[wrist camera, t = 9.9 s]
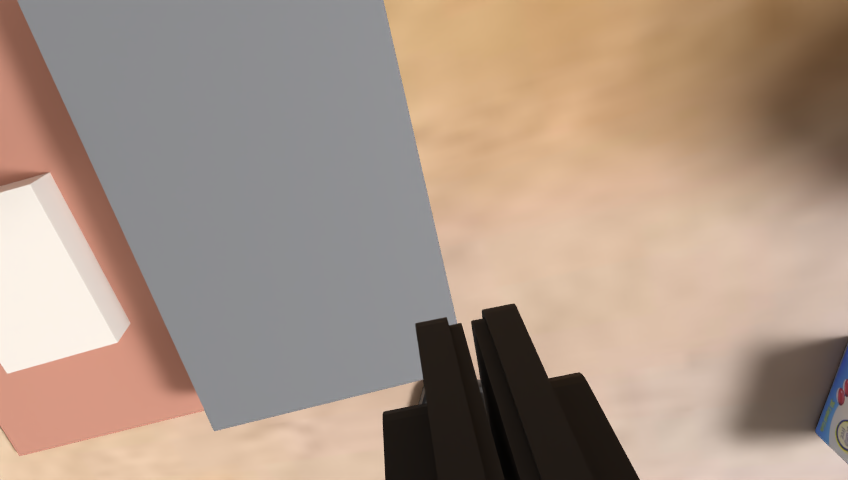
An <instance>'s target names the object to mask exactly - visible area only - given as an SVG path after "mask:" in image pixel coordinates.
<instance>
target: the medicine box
mask: <svg viewBox="0 0 848 480" xmlns="http://www.w3.org/2000/svg"><path fill="white" fill-rule="evenodd" d="M815 432H816V434H817V435H818V436H819V437H820V438H821V439H822V440H823V441H824V442H825V443H826V444H827V445H828V446H829V447H830V448H832V449H833V450H834V451H835V452H836V453H837V454H838V455H839V456H840V457H841V458H842V459H843V460H844V461H845V462H846V463H847V464H848V343H847V346H846V348H845V351H844V354H843V357H842V359H841V362H840V365H839V368H838V370H837V373H836V376H835V379H834V381H833V384H832V387H831V390H830V392H829V395H828V398H827V401H826V403H825V406H824V409H823V411H822V414H821V416H820V419H819V422H818V425H817V427H816V430H815Z"/></svg>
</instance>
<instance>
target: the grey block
mask: <svg viewBox="0 0 848 480" xmlns="http://www.w3.org/2000/svg"><path fill="white" fill-rule="evenodd" d="M17 1H18V4H19V6H20V8H21V10H22V12H23V14H24V17H25V19H26V21H27V23H28V25H29V28H30V30H31V32H32V34H33V36H34V39H35V41H36V43H37V45H38V47H39V49H40V52H41V54H42V56H43V58H44V60H45V63H46V65H47V67H48V69H49V71H50V74H51V76H52V78H53V80H54V82H55V84H56V87H57V89H58V91H59V93H60V95H61V98H62V100H63V102H64V104H65V106H66V109H67V111H68V113H69V115H70V117H71V119H72V122H73V124H74V126H75V128H76V130H77V133H78V135H79V137H80V139H81V141H82V143H83V146H84V148H85V150H86V152H87V154H88V157H89V159H90V161H91V163H92V165H93V168H94V170H95V172H96V174H97V176H98V178H99V181H100V183H101V185H102V187H103V189H104V192H105V194H106V196H107V198H108V200H109V203H110V205H111V207H112V209H113V211H114V213H115V216H116V218H117V220H118V222H119V224H120V227H121V229H122V231H123V233H124V235H125V238H126V240H127V242H128V244H129V246H130V248H131V251H132V253H133V255H134V257H135V259H136V262H137V264H138V266H139V268H140V270H141V273H142V275H143V277H144V279H145V281H146V283H147V286H148V288H149V290H150V292H151V294H152V297H153V299H154V301H155V303H156V305H157V307H158V310H159V312H160V314H161V316H162V318H163V321H164V323H165V325H166V327H167V329H168V332H169V334H170V336H171V338H172V340H173V342H174V345H175V347H176V349H177V351H178V353H179V356H180V358H181V360H182V362H183V364H184V367H185V369H186V371H187V373H188V375H189V377H190V380H191V382H192V384H193V386H194V388H195V391H196V393H197V395H198V397H199V399H200V402H201V404H202V406H203V408H204V410H205V412H206V415H207V417H208V419H209V421H210V423H211V426H212V428H213V430H214V431H217V430H221V429H225V428H229V427H233V426H237V425H241V424H245V423H249V422H253V421H257V420H261V419H265V418H269V417H274V416H278V415H282V414H286V413H290V412H294V411H298V410H302V409H306V408H310V407H314V406H318V405H322V404H326V403H330V402H334V401H338V400H342V399H346V398H350V397H354V396H358V395H362V394H367V393H371V392H375V391H379V390H383V389H387V388H391V387H395V386H399V385H403V384H407V383H411V382H415V381H419V380H423V375H422V368H421V361H420V355H419V348H418V341H417V334H416V328H415V323H419V322H424V321H429V320H434V319H439V318H444V317H447V320H448V324H449V325H453V324H457V320H456V316H455V312H454V307H453V303H452V299H451V294H450V290H449V286H448V281H447V277H446V272H445V268H444V264H443V259H442V255H441V251H440V246H439V242H438V237H437V233H436V229H435V224H434V220H433V216H432V211H431V207H430V202H429V198H428V194H427V189H426V185H425V181H424V176H423V172H422V167H421V163H420V159H419V154H418V150H417V146H416V141H415V137H414V132H413V128H412V124H411V119H410V115H409V111H408V106H407V102H406V97H405V93H404V89H403V84H402V80H401V76H400V71H399V67H398V63H397V58H396V54H395V49H394V45H393V41H392V36H391V32H390V28H389V23H388V19H387V14H386V10H385V6H384V1H383V0H17Z"/></svg>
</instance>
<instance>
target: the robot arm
mask: <svg viewBox="0 0 848 480" xmlns="http://www.w3.org/2000/svg"><path fill="white" fill-rule="evenodd" d="M482 318H483V319H478V320H473V321H471V324H472V331H473V337H474V343H475V349H476V355H477V361H478V367H479V373H480V379H481V385H482V392H483V398H484V403H483V400H482V396H481V392H480V389H479V385H478V381H477V378H476V374H475V371H474V367H473V363H472V360H471V356H470V352H469V349H468V345H467V342H466V338H465V334H464V331H463V327H462V324H461V323H458V324H453V325H449V324H448V320H447V317H444V318H439V319H434V320H429V321H424V322H419V323H415V328H416V334H417V341H418V348H419V355H420V361H421V368H422V375H423V382H424V388H425V395H426V402H427V403H425V404H420V405H415V406H410V407H405V408H400V409H395V410H390V411H385V412H383V438H384V459H385V480H640V479H639V478H638V476H637V474H636V472H635V470H634V468H633V466H632V464H631V463H630V461H629V459H628V457H627V455H626V453H625V451H624V450H623V448H622V446H621V444H620V442H619V440H618V438H617V436H616V435H615V433H614V431H613V429H612V427H611V425H610V423H609V422H608V420H607V418H606V416H605V414H604V412H603V410H602V408H601V407H600V405H599V403H598V401H597V399H596V397H595V395H594V394H593V392H592V390H591V388H590V386H589V384H588V382H587V381H586V379H585V377H584V376H583V375H582V374H581V373H580V372H579V373H574V374H569V375H564V376H559V377H554V378H548V376H547V374H546V372H545V370H544V367H543V365H542V363H541V361H540V358H539V356H538V354H537V352H536V349H535V347H534V345H533V343H532V340H531V338H530V336H529V334H528V332H527V329H526V327H525V325H524V323H523V320H522V318H521V316H520V314H519V311H518V309H517V307H516V305H515V304H509V305H504V306H499V307H494V308H489V309H484V310H482ZM484 404H485V407H484Z"/></svg>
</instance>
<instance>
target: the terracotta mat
mask: <svg viewBox="0 0 848 480" xmlns="http://www.w3.org/2000/svg"><path fill="white" fill-rule="evenodd" d="M49 172H50V173H51V175H52V177H53V179H54V181H55V183H56V185H57V186H58V188H59V190H60V192H61V194H62V196H63V198H64V200H65V201H66V203H67V205H68V207H69V209H70V211H71V213H72V215H73V216H74V218H75V220H76V222H77V224H78V226H79V228H80V230H81V231H82V233H83V235H84V237H85V239H86V241H87V243H88V244H89V246H90V248H91V250H92V252H93V254H94V256H95V258H96V259H97V261H98V263H99V265H100V267H101V269H102V271H103V273H104V274H105V276H106V278H107V280H108V282H109V284H110V286H111V288H112V289H113V291H114V293H115V295H116V297H117V299H118V301H119V302H120V304H121V306H122V308H123V310H124V312H125V314H126V316H127V317H128V319H129V321H130V325H129V326H128V328H127V329H126V331H125V332H124V334H123V335H122V337H121V338H120V340H119V341H118V343H115V344H111V345H108V346H104V347H101V348H97V349H93V350H90V351H86V352H83V353H79V354H76V355H72V356H69V357H65V358H62V359H58V360H54V361H51V362H47V363H44V364H40V365H37V366H33V367H30V368H26V369H23V370H19V371H15V372H12V373H8V374H7V373H6V371H5V370H4V368H3V367H2V365H1V364H0V426H1V428H2V429H3V431H4V432H5V434H6V436H7V437H8V439H9V440H10V442H11V443H12V445H13V447H14V448H15V450H16V451H17V453H18V454H19V456H22V455H26V454H30V453H34V452H38V451H42V450H46V449H51V448H55V447H59V446H63V445H67V444H71V443H75V442H79V441H83V440H87V439H91V438H95V437H99V436H103V435H107V434H111V433H115V432H119V431H123V430H127V429H132V428H136V427H140V426H144V425H148V424H152V423H156V422H160V421H164V420H168V419H172V418H176V417H180V416H184V415H188V414H192V413H196V412H200V411H204V408H203V406H202V404H201V402H200V399H199V397H198V395H197V393H196V391H195V388H194V386H193V384H192V382H191V380H190V377H189V375H188V373H187V371H186V369H185V367H184V364H183V362H182V360H181V358H180V356H179V353H178V351H177V349H176V347H175V345H174V342H173V340H172V338H171V336H170V334H169V332H168V329H167V327H166V325H165V323H164V321H163V318H162V316H161V314H160V312H159V310H158V307H157V305H156V303H155V301H154V299H153V297H152V294H151V292H150V290H149V288H148V286H147V283H146V281H145V279H144V277H143V275H142V273H141V270H140V268H139V266H138V264H137V262H136V259H135V257H134V255H133V253H132V251H131V248H130V246H129V244H128V242H127V240H126V238H125V235H124V233H123V231H122V229H121V227H120V224H119V222H118V220H117V218H116V216H115V213H114V211H113V209H112V207H111V205H110V203H109V200H108V198H107V196H106V194H105V192H104V189H103V187H102V185H101V183H100V181H99V178H98V176H97V174H96V172H95V170H94V168H93V165H92V163H91V161H90V159H89V157H88V154H87V152H86V150H85V148H84V146H83V143H82V141H81V139H80V137H79V135H78V133H77V130H76V128H75V126H74V124H73V122H72V119H71V117H70V115H69V113H68V111H67V109H66V106H65V104H64V102H63V100H62V98H61V95H60V93H59V91H58V89H57V87H56V84H55V82H54V80H53V78H52V76H51V74H50V71H49V69H48V67H47V65H46V63H45V60H44V58H43V56H42V54H41V52H40V49H39V47H38V45H37V43H36V41H35V39H34V36H33V34H32V32H31V30H30V28H29V25H28V23H27V21H26V19H25V17H24V14H23V12H22V10H21V8H20V6H19V4H18V1H17V0H0V186H3V185H6V184H10V183H13V182H17V181H20V180H24V179H27V178H31V177H35V176H38V175H42V174H45V173H49Z"/></svg>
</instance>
